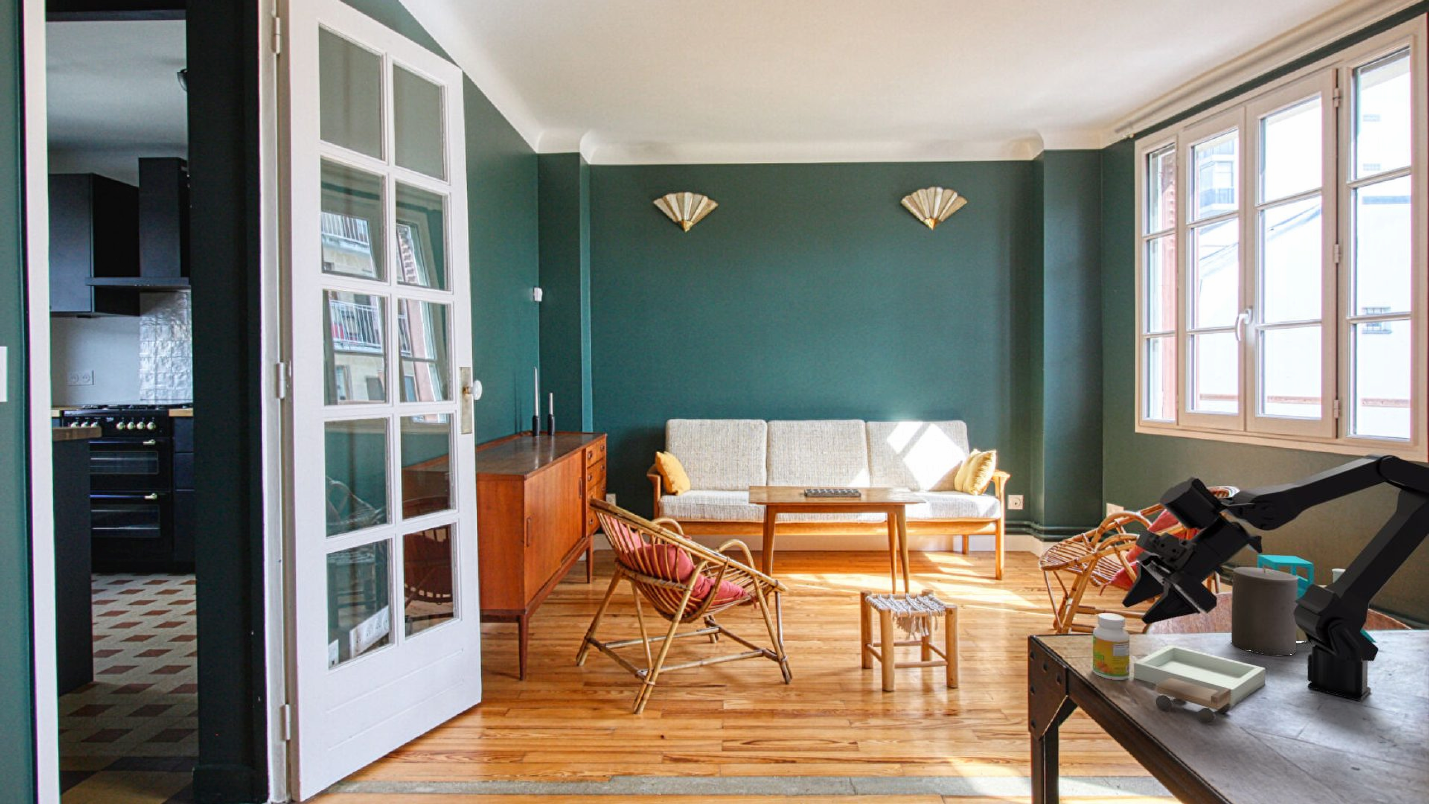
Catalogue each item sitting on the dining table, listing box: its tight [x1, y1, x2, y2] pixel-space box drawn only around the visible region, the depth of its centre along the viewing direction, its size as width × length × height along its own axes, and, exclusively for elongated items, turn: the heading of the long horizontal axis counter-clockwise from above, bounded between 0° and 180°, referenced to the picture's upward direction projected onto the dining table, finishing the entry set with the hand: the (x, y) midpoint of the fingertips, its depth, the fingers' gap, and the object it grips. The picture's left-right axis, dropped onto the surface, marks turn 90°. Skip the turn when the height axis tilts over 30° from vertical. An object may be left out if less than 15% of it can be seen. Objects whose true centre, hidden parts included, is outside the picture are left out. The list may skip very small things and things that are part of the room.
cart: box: [1154, 678, 1232, 725], centre depth 110 cm, size 8×7×4 cm
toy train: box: [1256, 554, 1377, 644], centre depth 142 cm, size 8×17×15 cm, turn 78°
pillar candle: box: [1230, 565, 1299, 656], centre depth 137 cm, size 10×10×15 cm
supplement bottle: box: [1092, 612, 1131, 681], centre depth 124 cm, size 5×5×10 cm
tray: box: [1133, 644, 1266, 707], centre depth 121 cm, size 14×14×2 cm
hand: (1133, 613), depth 123 cm, fingers open, 9 cm apart
